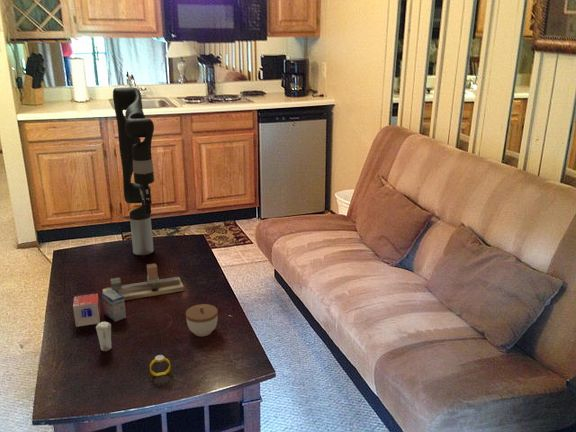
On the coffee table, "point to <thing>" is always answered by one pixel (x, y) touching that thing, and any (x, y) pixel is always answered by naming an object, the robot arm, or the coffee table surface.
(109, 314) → the medicine box
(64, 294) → the coffee table surface
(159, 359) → the gold diamond ring
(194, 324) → the lidded jar
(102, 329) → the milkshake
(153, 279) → the block
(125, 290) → the bolt-hole plate
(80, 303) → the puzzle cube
